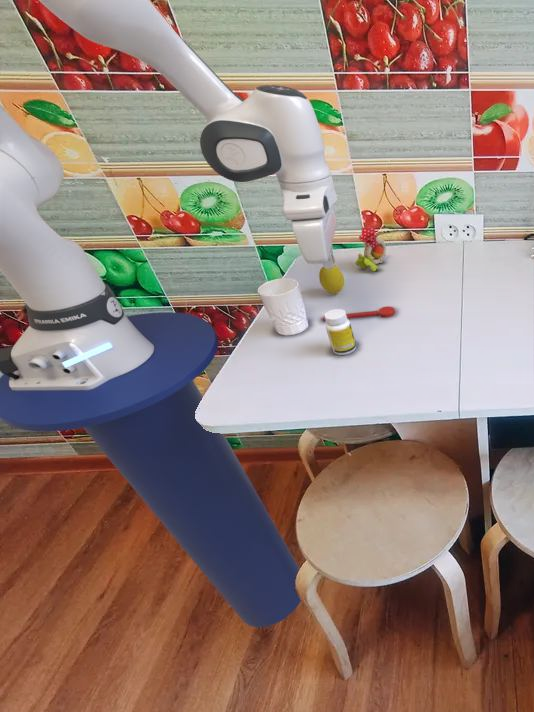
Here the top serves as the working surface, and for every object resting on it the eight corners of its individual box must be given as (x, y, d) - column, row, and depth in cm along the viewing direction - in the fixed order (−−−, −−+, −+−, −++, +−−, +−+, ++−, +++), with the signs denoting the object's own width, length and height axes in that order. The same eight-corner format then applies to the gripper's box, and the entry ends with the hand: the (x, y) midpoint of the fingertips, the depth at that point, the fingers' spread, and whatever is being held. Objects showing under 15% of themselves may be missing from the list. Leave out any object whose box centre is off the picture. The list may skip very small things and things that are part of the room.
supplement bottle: (360, 349, 96) (351, 313, 91) (340, 358, 94) (329, 322, 88) (349, 340, 99) (339, 305, 93) (328, 349, 96) (317, 313, 91)
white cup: (278, 341, 98) (261, 299, 92) (270, 325, 104) (254, 284, 97) (315, 330, 102) (302, 289, 95) (306, 314, 107) (292, 274, 101)
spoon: (323, 323, 104) (322, 320, 103) (325, 315, 107) (324, 312, 106) (395, 316, 106) (394, 313, 106) (394, 308, 109) (394, 305, 108)
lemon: (328, 288, 117) (320, 258, 112) (350, 289, 117) (342, 258, 111) (320, 299, 112) (311, 268, 107) (343, 299, 112) (335, 269, 107)
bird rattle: (372, 268, 130) (349, 267, 122) (375, 227, 127) (352, 224, 119) (390, 272, 128) (368, 272, 120) (394, 231, 125) (371, 228, 117)
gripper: (299, 177, 90) (319, 246, 99) (280, 213, 74) (306, 291, 83) (333, 175, 91) (350, 243, 100) (321, 210, 75) (342, 287, 84)
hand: (330, 265), depth 91 cm, fingers closed
